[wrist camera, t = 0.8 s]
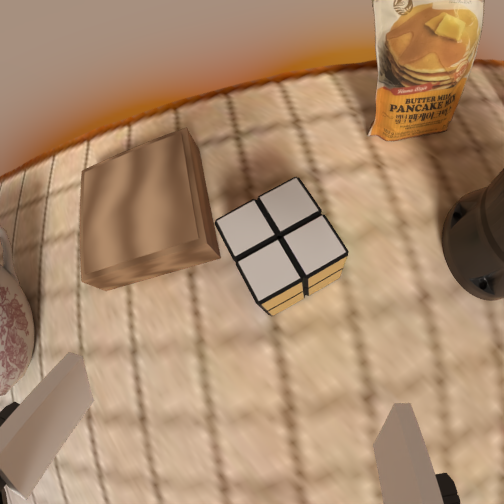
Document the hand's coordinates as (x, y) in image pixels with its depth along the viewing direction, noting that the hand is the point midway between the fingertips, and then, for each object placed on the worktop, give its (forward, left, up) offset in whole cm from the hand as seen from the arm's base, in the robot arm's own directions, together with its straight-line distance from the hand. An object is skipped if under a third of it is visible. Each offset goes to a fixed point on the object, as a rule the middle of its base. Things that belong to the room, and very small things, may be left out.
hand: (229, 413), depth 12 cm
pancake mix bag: (-29, -29, -27) cm, 49 cm away
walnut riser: (+13, -25, -26) cm, 39 cm away
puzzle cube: (-4, -13, -27) cm, 30 cm away
